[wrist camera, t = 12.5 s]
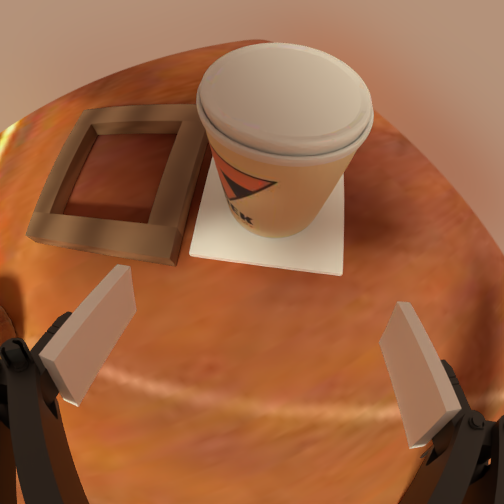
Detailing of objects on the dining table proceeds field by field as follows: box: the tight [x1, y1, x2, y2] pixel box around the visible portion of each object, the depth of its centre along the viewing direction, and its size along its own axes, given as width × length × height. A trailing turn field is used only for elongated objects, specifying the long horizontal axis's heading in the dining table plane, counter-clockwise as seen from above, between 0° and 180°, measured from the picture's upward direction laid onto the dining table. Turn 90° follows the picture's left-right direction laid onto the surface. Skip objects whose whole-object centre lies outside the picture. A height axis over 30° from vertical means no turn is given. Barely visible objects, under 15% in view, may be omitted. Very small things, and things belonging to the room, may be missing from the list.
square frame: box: [26, 104, 208, 266], centre depth 24 cm, size 16×16×2 cm
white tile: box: [189, 157, 344, 276], centre depth 24 cm, size 12×12×1 cm
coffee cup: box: [196, 43, 374, 238], centre depth 18 cm, size 9×9×12 cm
